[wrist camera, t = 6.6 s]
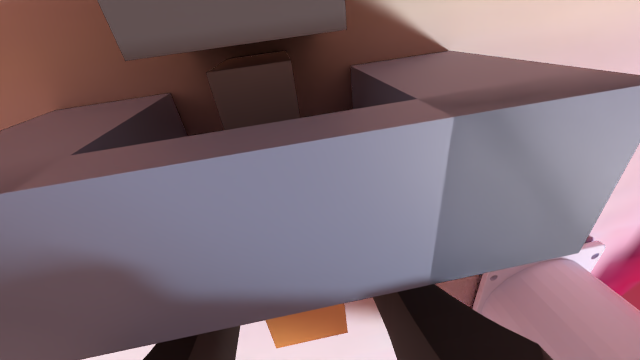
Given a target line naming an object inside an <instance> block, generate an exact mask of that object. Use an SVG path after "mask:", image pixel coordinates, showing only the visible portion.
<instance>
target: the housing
mask: <svg viewBox="0 0 640 360" xmlns="http://www.w3.org/2000/svg"><path fill="white" fill-rule="evenodd" d="M350 67H351V85H352V104H353V110H347V111H340V112H334V113H328V114H322V115H316V116H310V117H304V118H297V119H291V120H285V121H279V122H273V123H267V124H261V125H254V126H248V127H242V128H236V129H230V130H224V131H218V132H211V133H205V134H199V135H193V136H187V133H186V131H185V128H184V126H183V124H182V121H181V119H180V116H179V114H178V111H177V109H176V106H175V104H174V101H173V99H172V96H171V94H170V93H167V94H161V95H154V96H147V97H141V98H134V99H127V100H121V101H114V102H108V103H101V104H94V105H88V106H81V107H74V108H68V109H61V110H55V111H52V112H49V113H47V114H44V115H41V116H39V117H36V118H33V119H31V120H28V121H25V122H23V123H20V124H17V125H15V126H12V127H9V128H7V129H4V130H1V131H0V360H81V359H86V358H90V357H95V356H100V355H104V354H109V353H114V352H118V351H123V350H128V349H132V348H137V347H142V346H147V345H151V344H156V343H161V342H165V341H170V340H175V339H179V338H184V337H189V336H193V335H198V334H203V333H207V332H212V331H217V330H221V329H226V328H231V327H235V326H240V325H245V324H249V323H254V322H259V321H263V320H268V319H273V318H277V317H282V316H287V315H291V314H296V313H301V312H305V311H310V310H315V309H319V308H324V307H329V306H334V305H338V304H343V303H348V302H352V301H357V300H362V299H366V298H371V297H376V296H380V295H385V294H390V293H394V292H399V291H404V290H408V289H413V288H418V287H422V286H427V285H432V284H436V283H441V282H446V281H450V280H455V279H460V278H464V277H469V276H474V275H478V274H483V273H488V272H492V271H497V270H502V269H506V268H511V267H516V266H521V265H525V264H530V263H535V262H539V261H544V260H549V259H553V258H558V257H563V256H567V255H572V254H577V253H579V252H580V250H581V248H582V247H583V245H584V243H585V241H586V239H587V237H588V236H589V234H590V232H591V230H592V228H593V227H594V225H595V223H596V221H597V219H598V217H599V216H600V214H601V212H602V210H603V208H604V207H605V205H606V203H607V201H608V199H609V198H610V196H611V194H612V192H613V190H614V188H615V187H616V185H617V183H618V181H619V179H620V178H621V176H622V174H623V172H624V170H625V169H626V167H627V165H628V163H629V161H630V159H631V158H632V156H633V154H634V152H635V150H636V149H637V147H638V145H639V143H640V75H634V74H626V73H618V72H611V71H603V70H595V69H587V68H580V67H572V66H564V65H556V64H549V63H541V62H533V61H525V60H517V59H510V58H502V57H494V56H486V55H479V54H471V53H463V52H455V51H445V52H439V53H432V54H425V55H419V56H412V57H405V58H399V59H392V60H386V61H379V62H372V63H366V64H359V65H353V66H350Z"/></svg>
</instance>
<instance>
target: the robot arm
mask: <svg viewBox="0 0 640 360" xmlns="http://www.w3.org/2000/svg"><path fill="white" fill-rule="evenodd" d="M605 248H606V247H605V245H604V244H603V243H601V242H599V241H593V242H589V243H584V245H583V247H582V248H581V250H580V252H579V253H577V254H572V255H567V256H563V257H558V258H553V259H549V260H544V261H539V262H535V263H530V264H525V265H521V266H516V267H511V268H506V269H502V270H497V271H492V272H488V273H483V275H482V278H481V282H480V285H479V288H478V292H477V295H476V298H475V302H474V305H473V308H472V309H471V308H470V307H468V306H466V305H465V304H463V303H462V302H460V301H458V300H457V299H455V298H454V297H452V296H451V295H449V294H448V293H446V292H445V291H443V290H442V289H441V288H439V287H438V286H436V285H435V284H432V285H427V286H422V287H418V288H413V289H408V290H404V291H399V292H394V293H390V294H385V295H380V296H376V297H373V299H374V301H375V303H376V305H377V308H378V310H379V312H380V315H381V317H382V319H383V322H384V324H385V326H386V329H387V331H388V334H389V336H390V339H391V342H392V345H393V348H394V351H395V354H396V357H397V360H640V311H639V310H638V309H636V308H635V307H634V306H633V305H631V304H630V303H629V302H627V301H626V300H625V299H623V298H622V297H621V296H620V295H618V294H617V293H616V292H614V291H613V290H612V289H611V288H609V287H608V286H607V285H605V284H604V283H603V282H602V281H600V280H599V279H598V278H596V277H595V276H594V275H593V274H591V271H592V269H593V268H594V266H595V265H596V263H597V261H598V260H599V258H600V256H601V255H602V253H603V252H604V250H605ZM239 330H240V326H235V327H231V328H226V329H221V330H217V331H212V332H207V333H203V334H198V335H193V336H189V337H184V338H179V339H175V340H170V341H165V342H161V343H157V344H156V345H155V346H154V347H153V349H152V350H151V351H150V352H149V353H148V354H147V356H146V357H145V358H144V359H143V360H235V357H236V350H237V344H238V337H239Z"/></svg>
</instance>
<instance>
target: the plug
mask: <svg viewBox="0 0 640 360" xmlns="http://www.w3.org/2000/svg"><path fill="white" fill-rule="evenodd" d="M97 1H98V3H99V5H100V7H101V9H102V11H103V14H104V16H105V18H106V20H107V22H108V24H109V27H110V29H111V31H112V33H113V35H114V37H115V40H116V42H117V44H118V46H119V48H120V50H121V53H122V55H123V57H124V59H125V61H128V60H135V59H142V58H149V57H156V56H164V55H171V54H178V53H185V52H192V51H199V50H206V49H213V48H220V47H227V46H234V45H241V44H248V43H255V42H262V41H269V40H276V39H283V38H291V37H298V36H305V35H312V34H319V33H326V32H333V31H340V30H347V26H346V9H345V0H97ZM206 75H207V78H208V81H209V84H210V87H211V90H212V93H213V96H214V99H215V103H216V106H217V109H218V112H219V115H220V118H221V121H222V124H223V127H224V130H230V129H236V128H242V127H248V126H254V125H261V124H267V123H273V122H279V121H285V120H291V119H297V118H300V113H299V107H298V101H297V95H296V88H295V82H294V76H293V70H292V64H291V59H290V58H289V56H288V54H287V52H286V51H280V52H273V53H266V54H259V55H252V56H245V57H238V58H232V59H227V60H225V61H224V62H222V63H221V64H219V65H217V66H216V67H214V68H213V69H211V70H210V71H208V72H207V73H206ZM266 323H267V325H268V328H269V330H270V333H271V336H272V338H273V341H274V343H275V346H276V348H280V347H285V346H289V345H294V344H298V343H303V342H307V341H312V340H316V339H321V338H325V337H330V336H334V335H339V334H343V333H348V331H347V323H346V314H345V305H344V303H343V304H338V305H334V306H329V307H324V308H319V309H315V310H310V311H305V312H301V313H296V314H291V315H287V316H282V317H277V318H273V319H268V320H266Z"/></svg>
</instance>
